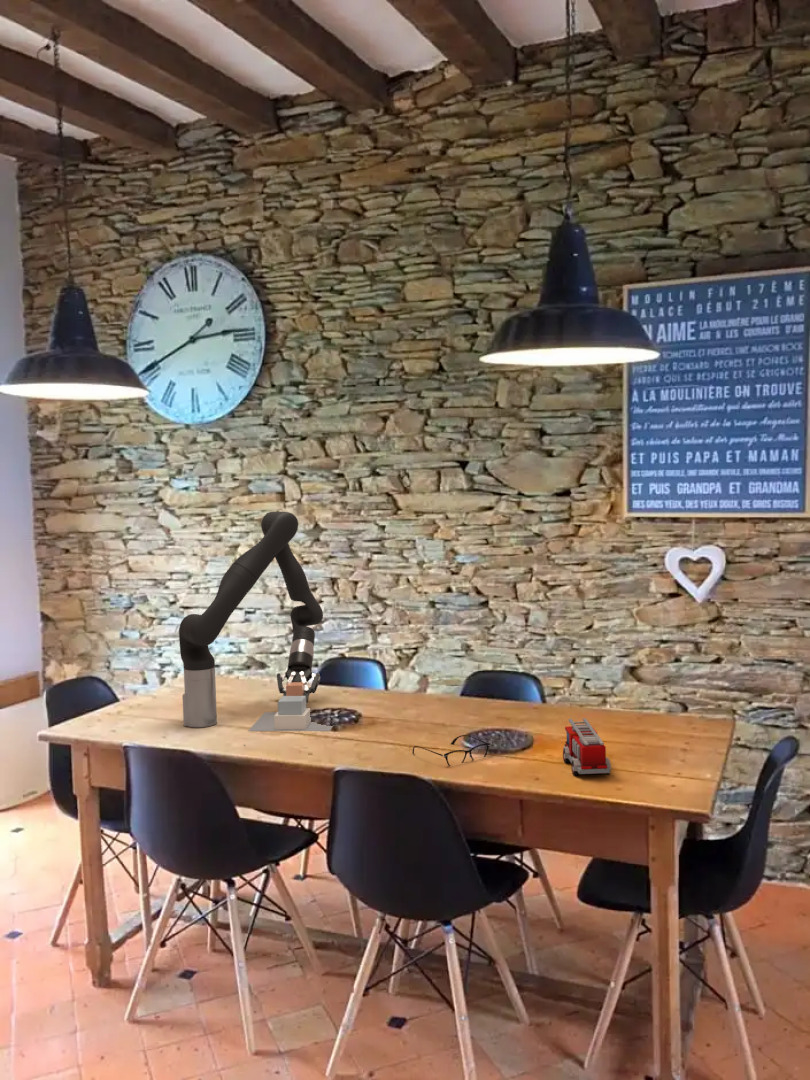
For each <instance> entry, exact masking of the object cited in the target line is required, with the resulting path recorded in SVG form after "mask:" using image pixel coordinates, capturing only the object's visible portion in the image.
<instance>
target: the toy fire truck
mask: <svg viewBox="0 0 810 1080" xmlns="http://www.w3.org/2000/svg"><path fill="white" fill-rule="evenodd" d="M568 723H570V726H565V727H564V730H565V732H566V741H565V744H564V746H563V749H562V759H563V762H564V764H569V763H571V774H572V776H579V775H586V774H587V775H589V774H604V775H610V774H611V771H612V766H611V760H610V758H609V757H606V754H607V753H606V752H607V750H606V748H607V747H606V745H605V743H604V741H603V740H602V739H601V737H600V736H599V735H598V732H597V730H596V729H595V728H594V727H593V726H592V725H591V724H590V722H589V721H588V720H587V718H582V721H574V720H573V719H572V718H568Z"/></svg>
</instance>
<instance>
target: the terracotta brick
mask: <svg viewBox="0 0 810 1080" xmlns="http://www.w3.org/2000/svg"><path fill="white" fill-rule="evenodd" d="M285 686H286V696H303V694H304V691H305V689H304V686H305V684H304V683H303V682H291V683H288V684H287V685H286V684H285Z"/></svg>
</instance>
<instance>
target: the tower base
mask: <svg viewBox="0 0 810 1080" xmlns="http://www.w3.org/2000/svg"><path fill="white" fill-rule="evenodd" d="M276 712H277V713H276V714H275V715H274V728H275V730H287V729H306V728H307V726H308V725H309V723H310V722H311V717H310V712H311V708H310V707H309V708H307V703H306V696H283V695H282V696H281V697H280V698H279V699H278V701H277V711H276Z"/></svg>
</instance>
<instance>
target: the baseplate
mask: <svg viewBox="0 0 810 1080" xmlns="http://www.w3.org/2000/svg"><path fill="white" fill-rule="evenodd" d="M277 712H278V711H266V712H265V711H264V712H263V714H262V715H261V716H260V717H259V718H258V719H257V720H256V721H255V723H254V724H252V726H251V727H250V728H249V729H248V730H247V732H330V731H332V728H333V726H334V725H333V726H326V725H321V724H317V723H314V722H310V723H309V725H308V726H307V728H306V729H287V730H275V728H274V715H275V714H276V713H277Z"/></svg>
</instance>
